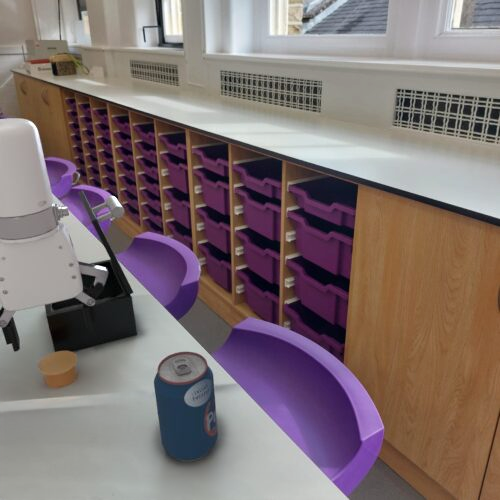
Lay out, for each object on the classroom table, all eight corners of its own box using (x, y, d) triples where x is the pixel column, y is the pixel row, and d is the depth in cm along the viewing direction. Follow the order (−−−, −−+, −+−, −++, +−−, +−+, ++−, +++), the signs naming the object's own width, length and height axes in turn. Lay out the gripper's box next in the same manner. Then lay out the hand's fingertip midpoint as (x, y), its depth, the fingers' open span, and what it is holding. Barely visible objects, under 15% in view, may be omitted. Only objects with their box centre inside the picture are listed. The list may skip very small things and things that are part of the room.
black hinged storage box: (57, 364, 76) (46, 316, 73) (50, 316, 90) (40, 273, 86) (138, 342, 81) (131, 296, 77) (120, 299, 94) (113, 258, 91)
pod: (40, 399, 69) (33, 374, 67) (50, 376, 74) (44, 351, 72) (77, 397, 69) (71, 371, 68) (85, 373, 74) (80, 349, 72)
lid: (91, 221, 70) (124, 206, 72) (77, 192, 83) (106, 180, 85) (129, 295, 77) (158, 280, 78) (111, 257, 90) (137, 245, 92)
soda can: (225, 456, 59) (219, 377, 54) (168, 473, 57) (157, 392, 52) (209, 417, 65) (203, 343, 60) (158, 431, 63) (147, 355, 58)
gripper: (92, 201, 67) (112, 308, 74) (-50, 225, 61) (-14, 339, 68) (100, 217, 61) (121, 333, 68) (-57, 246, 54) (-16, 370, 62)
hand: (54, 336), depth 68 cm, fingers open, 9 cm apart
